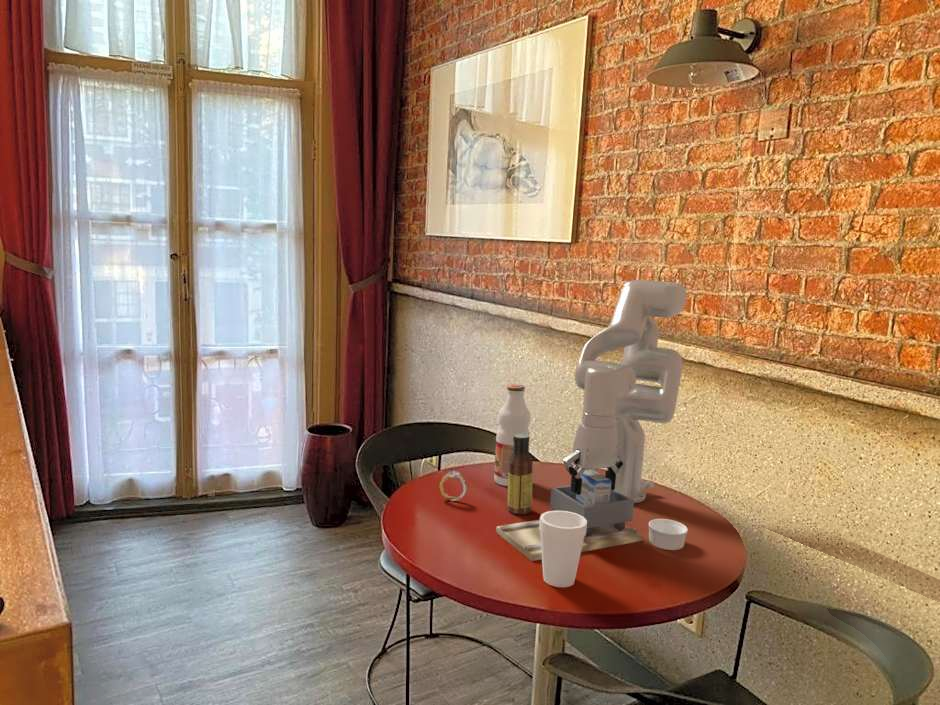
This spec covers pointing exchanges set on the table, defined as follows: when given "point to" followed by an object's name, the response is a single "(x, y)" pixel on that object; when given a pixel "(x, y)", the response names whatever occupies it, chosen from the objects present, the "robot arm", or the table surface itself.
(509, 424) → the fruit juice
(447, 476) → the bracelet
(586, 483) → the medicine box
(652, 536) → the ramekin
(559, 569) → the foam cup
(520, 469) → the sauce bottle
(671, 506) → the table surface
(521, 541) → the track board
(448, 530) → the table surface
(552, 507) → the grey storage bin
